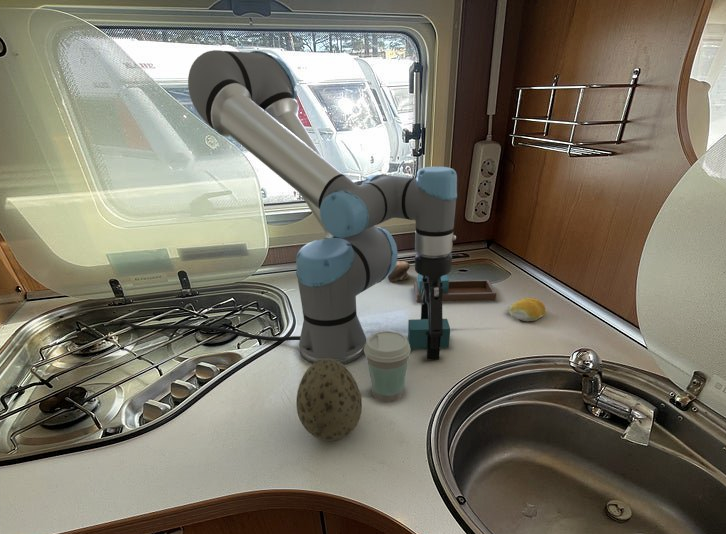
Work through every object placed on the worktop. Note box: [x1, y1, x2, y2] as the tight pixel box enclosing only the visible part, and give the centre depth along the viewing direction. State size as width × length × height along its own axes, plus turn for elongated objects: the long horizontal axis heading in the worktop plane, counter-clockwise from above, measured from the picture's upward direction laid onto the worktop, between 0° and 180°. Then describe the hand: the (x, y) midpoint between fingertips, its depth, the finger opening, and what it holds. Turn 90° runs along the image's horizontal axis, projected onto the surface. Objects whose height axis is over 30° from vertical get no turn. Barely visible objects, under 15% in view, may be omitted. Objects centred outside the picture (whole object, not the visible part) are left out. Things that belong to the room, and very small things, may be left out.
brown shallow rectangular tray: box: [413, 279, 497, 303], centre depth 119 cm, size 22×10×2 cm, turn 91°
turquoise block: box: [417, 273, 450, 294], centre depth 118 cm, size 8×5×5 cm, turn 91°
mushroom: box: [387, 260, 411, 283], centre depth 128 cm, size 8×8×6 cm
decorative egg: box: [295, 358, 363, 442], centre depth 70 cm, size 11×11×15 cm
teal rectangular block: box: [407, 318, 451, 350], centre depth 97 cm, size 9×5×5 cm, turn 91°
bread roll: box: [508, 297, 547, 322], centre depth 108 cm, size 8×9×4 cm
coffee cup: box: [363, 330, 412, 403], centre depth 79 cm, size 8×8×12 cm
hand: (429, 343), depth 98 cm, fingers open, 13 cm apart
